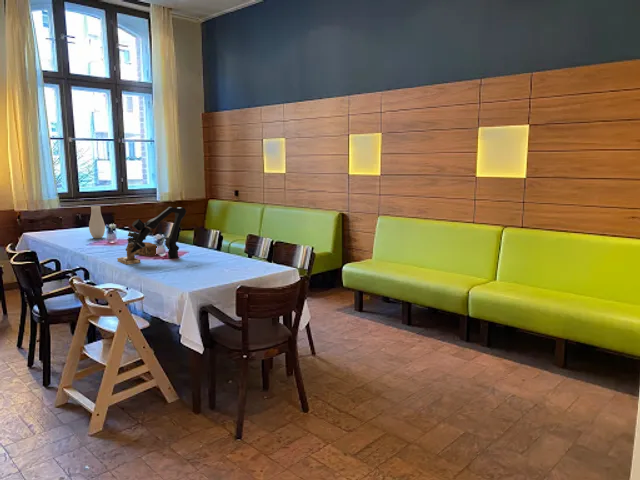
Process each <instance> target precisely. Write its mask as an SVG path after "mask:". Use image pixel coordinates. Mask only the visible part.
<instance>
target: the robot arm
mask: <svg viewBox="0 0 640 480" xmlns="http://www.w3.org/2000/svg"><path fill="white" fill-rule="evenodd" d="M172 213H174V222H173V223H172V224H173V225H172V226H171V227H172V228H171V230H170V233H169V236H168V237H165V241H164V244H165V247H166V249H167V250H168V251H167V258H168V259H179V258H180V256H179V250H180V246H179V245H177V236H178V232H179V229H180V225H181V224H182V223H181V222H182V220H183V218H184V217H185V216H186V214H187V210H186V208H184V207H180V206H179V207H173V206H168V207H167V208H166V209H165V210H163V211H162V212H161V213H159V214H158V215H157V216H155V217H154V218H151V219H149V220H147V221H145V222H143V221H142V220H141V219H140V218H137V219H136V220H135V221H133V222H132V224H131V226H132V227H133V228H134V229H135V230H137V232H135V231H133V232H131V231H129V232H128V233H127V237H128V238H127V245H128V244H129V243H132V244H133V249H132V250H131V253H133V252H135V251H137V250H139V249H141V248H144V247H145V243H143V242H144V241H145V240H146V239H147V237H148V236H149V234H152V235H153V234H154V232H153V230H154V229H156V228H157V227H158V226H159V224H160V222H162V221H163V220H164V219H166V217H168V216H169V215H170V214H172ZM127 247H128V246H126V248H125V251H126V252H127Z"/></svg>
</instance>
